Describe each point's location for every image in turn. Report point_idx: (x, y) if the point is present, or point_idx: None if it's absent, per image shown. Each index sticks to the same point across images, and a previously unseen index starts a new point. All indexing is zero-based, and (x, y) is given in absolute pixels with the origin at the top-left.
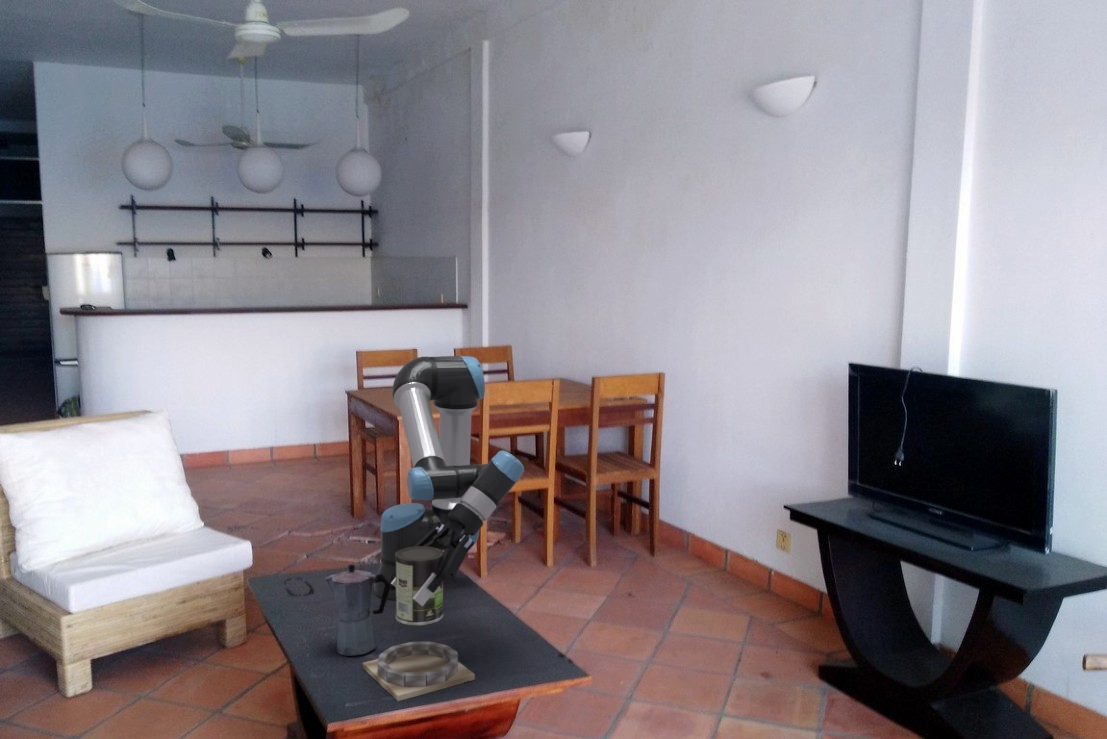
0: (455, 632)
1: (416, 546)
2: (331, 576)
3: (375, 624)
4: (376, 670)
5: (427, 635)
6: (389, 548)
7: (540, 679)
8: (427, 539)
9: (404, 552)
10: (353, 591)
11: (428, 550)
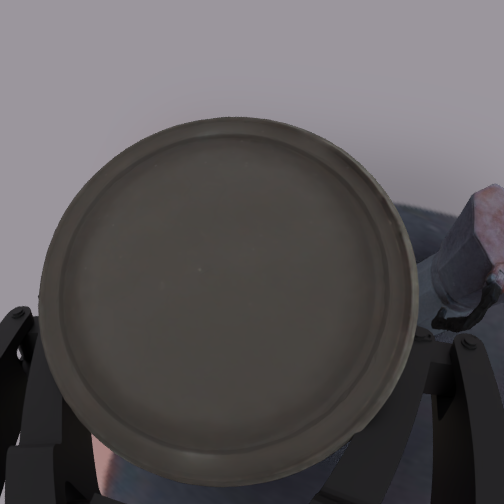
0: (387, 499)
1: (470, 382)
2: None
3: (494, 371)
4: None
5: (410, 447)
6: None
7: (115, 499)
8: (465, 475)
9: (317, 192)
10: (462, 226)
11: (250, 391)
